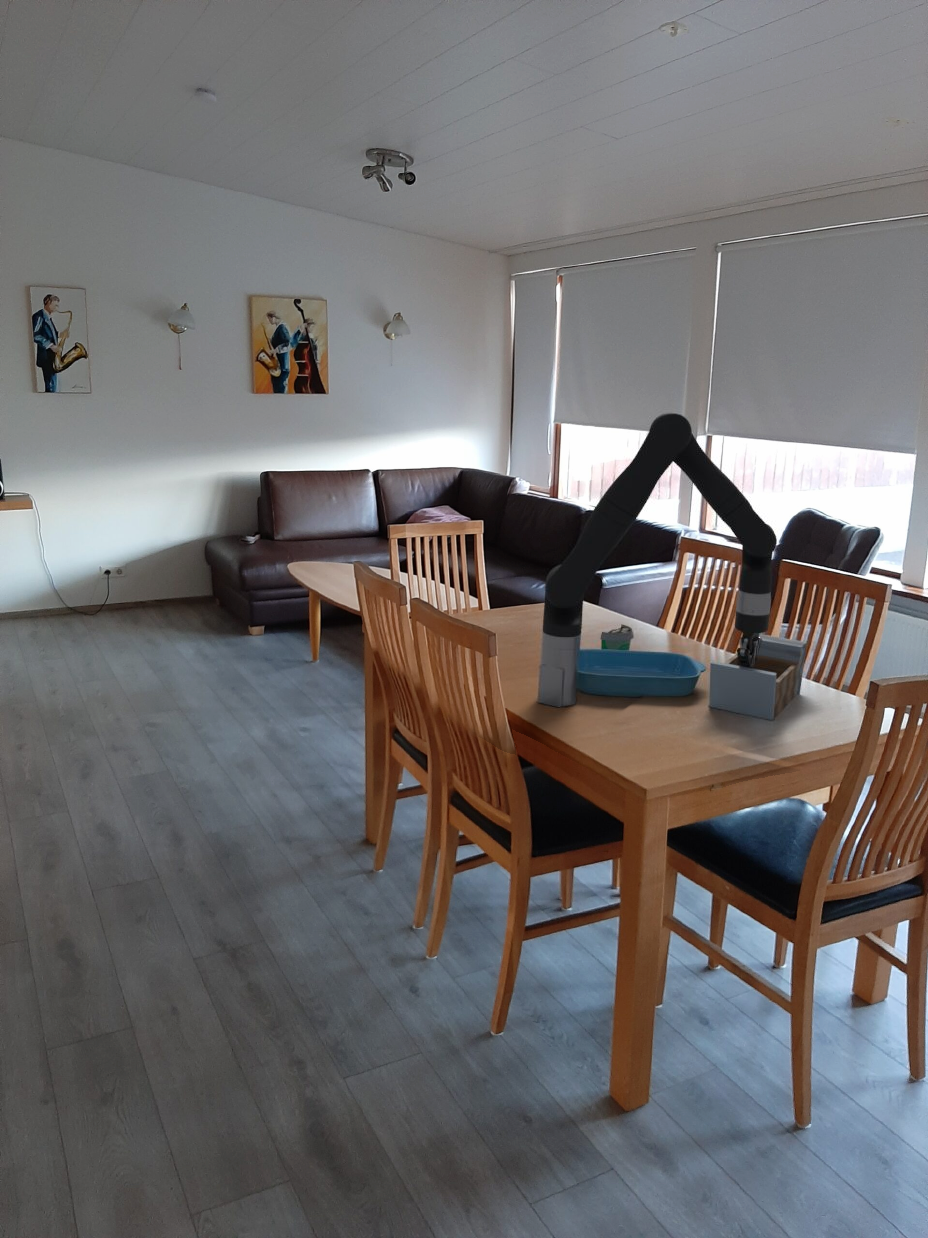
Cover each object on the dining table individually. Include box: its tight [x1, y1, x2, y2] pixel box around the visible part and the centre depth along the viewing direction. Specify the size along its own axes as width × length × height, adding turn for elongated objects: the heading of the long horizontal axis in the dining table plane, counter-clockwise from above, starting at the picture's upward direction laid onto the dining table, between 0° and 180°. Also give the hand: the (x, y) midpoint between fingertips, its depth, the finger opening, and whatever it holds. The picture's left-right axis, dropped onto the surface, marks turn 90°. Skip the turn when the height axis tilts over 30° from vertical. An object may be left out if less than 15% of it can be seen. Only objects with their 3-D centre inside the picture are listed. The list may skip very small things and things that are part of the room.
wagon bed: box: [724, 633, 808, 719], centre depth 233 cm, size 26×15×14 cm, turn 148°
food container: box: [599, 624, 635, 651], centre depth 260 cm, size 12×6×10 cm, turn 143°
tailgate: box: [707, 660, 777, 722], centre depth 221 cm, size 1×16×13 cm, turn 57°
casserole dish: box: [577, 648, 707, 698], centre depth 242 cm, size 37×22×7 cm, turn 87°
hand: (746, 681), depth 222 cm, fingers closed
